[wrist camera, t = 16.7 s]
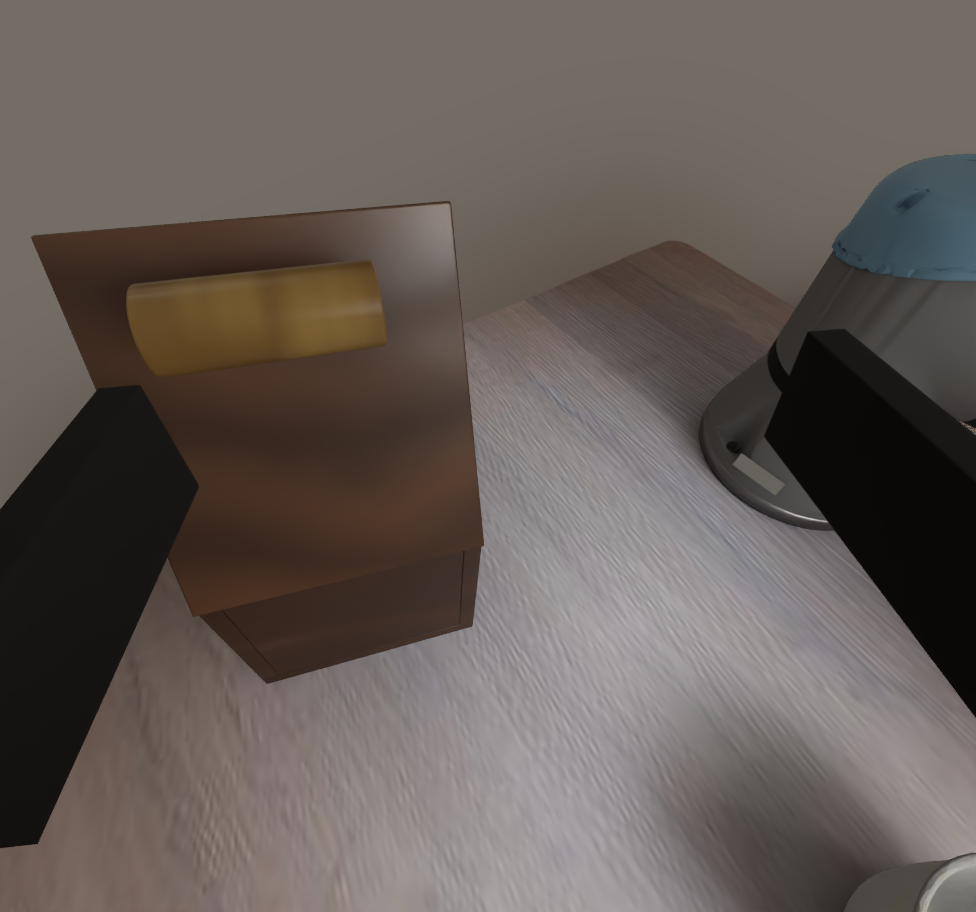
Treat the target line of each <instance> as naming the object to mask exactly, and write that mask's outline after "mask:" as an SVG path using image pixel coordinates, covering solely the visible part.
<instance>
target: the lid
mask: <svg viewBox="0 0 976 912" xmlns="http://www.w3.org/2000/svg"><path fill="white" fill-rule="evenodd" d="M31 238H32V241H33V243H34V246H35V248H36V250H37V252H38V255H39V257H40V260H41V262H42V264H43V267H44V269H45V271H46V274H47V276H48V278H49V281H50V283H51V285H52V287H53V290H54V292H55V295H56V297H57V299H58V302H59V304H60V306H61V309H62V311H63V314H64V316H65V318H66V321H67V323H68V325H69V328H70V330H71V332H72V335H73V337H74V339H75V342H76V343H77V346H78V349H79V351H80V353H81V356H82V358H83V360H84V363H85V365H86V367H87V370H88V372H89V374H90V377H91V379H92V381H93V384H94V386H95V388H96V391H97V390H98V389H99V388H107V387H119V386H132V385H141V387H142V389H143V391H144V392H145V394H146V396H147V397H148V399H149V401H150V402H151V404H152V406H153V408H154V409H155V411H156V413H157V414H158V416H159V418H160V420H161V421H162V423H163V425H164V426H165V428H166V430H167V431H168V433H169V435H170V437H171V438H172V440H173V442H174V443H175V445H176V447H177V448H178V450H179V452H180V454H181V455H182V457H183V459H184V460H185V462H186V464H187V466H188V467H189V469H190V471H191V472H192V474H193V476H194V477H195V479H196V481H197V483H198V484H199V488H198V491H197V493H196V495H195V497H194V499H193V502H192V504H191V506H190V508H189V511H188V513H187V515H186V517H185V519H184V522H183V524H182V526H181V528H180V530H179V533H178V535H177V537H176V539H175V541H174V544H173V546H172V548H171V550H170V552H169V555H168V559H169V562H170V564H171V566H172V569H173V571H174V573H175V576H176V578H177V580H178V583H179V585H180V587H181V590H182V592H183V594H184V597H185V599H186V601H187V604H188V606H189V608H190V611H191V613H192V615H193V617H196V616H200V615H204V614H208V613H212V612H216V611H220V610H224V609H228V608H233V607H237V606H241V605H245V604H249V603H253V602H257V601H261V600H265V599H269V598H273V597H278V596H282V595H286V594H290V593H294V592H298V591H302V590H306V589H310V588H314V587H318V586H323V585H327V584H331V583H335V582H339V581H343V580H347V579H351V578H355V577H359V576H363V575H368V574H372V573H376V572H380V571H384V570H388V569H392V568H396V567H400V566H404V565H408V564H413V563H417V562H421V561H425V560H429V559H433V558H437V557H441V556H445V555H449V554H453V553H458V552H462V551H466V550H470V549H474V548H478V547H482V546H484V539H483V529H482V518H481V508H480V498H479V487H478V477H477V467H476V457H475V446H474V436H473V426H472V415H471V405H470V395H469V384H468V374H467V364H466V354H465V343H464V333H463V323H462V313H461V303H460V292H459V282H458V271H457V261H456V251H455V240H454V231H453V220H452V209H451V203H450V202H449V201H443V202H432V203H419V204H407V205H395V206H383V207H371V208H358V209H346V210H335V211H322V212H310V213H298V214H286V215H275V216H262V217H250V218H238V219H226V220H214V221H201V222H189V223H179V224H165V225H153V226H141V227H129V228H117V229H105V230H93V231H81V232H69V233H57V234H46V235H34V236H32V237H31Z"/></svg>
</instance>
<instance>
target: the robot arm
mask: <svg viewBox="0 0 976 912" xmlns="http://www.w3.org/2000/svg"><path fill="white" fill-rule="evenodd" d="M832 247H833V252H832V254H831V255H830V257H829V258H828V260H827V261H826V263H825V264H824V266H823V267H822V269H821V270H820V272H819V274H818V275H817V277H816V278H815V280H814V282H813V283H812V285H811V286H810V288H809V289H808V291H807V292H806V294H805V295H804V297H803V298H802V300H801V302H800V303H799V305H798V306H797V308H796V309H795V311H794V312H793V314H792V315H791V317H790V318H789V320H788V322H787V323H786V325H785V326H784V328H783V329H782V331H781V332H780V334H779V336H778V337H777V339H776V340H775V342H774V344H773V345H772V347H771V348H770V350H769V351H768V353H767V354H766V355H764V356H763V357H762V358H761V359H759V360H758V361H757V362H755V363H754V364H753V365H752V366H750V367H749V368H748V369H747V370H745V371H744V372H743V373H742V374H740V375H739V376H738V377H736V378H735V379H734V380H733V381H731V382H730V383H729V384H728V385H726V386H725V387H724V388H723V389H722V390H721V391H720V392H719V393H718V394H717V395H716V396H715V398H714V399H713V400H712V401H711V403H710V404H709V406H708V408H707V410H706V411H705V413H704V415H703V417H702V420H701V423H700V431H699V435H700V443H701V447H702V450H703V453H704V455H705V457H706V460H707V462H708V463H709V465H710V467H711V468H712V470H713V471H714V473H715V474H716V475H717V476H718V478H719V479H720V480H721V481H722V482H723V483H724V484H725V485H726V486H727V487H728V488H729V489H730V490H731V491H732V492H733V493H734V494H735V495H736V496H738V497H739V498H740V499H742V500H743V501H744V502H746V503H747V504H749V505H750V506H752V507H753V508H755V509H757V510H758V511H760V512H762V513H764V514H766V515H768V516H770V517H772V518H774V519H777V520H779V521H782V522H785V523H788V524H791V525H794V526H798V527H802V528H808V529H815V530H835V532H836V533H837V534H838V536H839V537H840V538H841V540H842V541H843V542H844V544H845V545H846V546H847V548H848V549H849V550H850V552H851V553H852V554H853V555H854V557H855V558H856V559H857V561H858V562H859V563H860V565H861V566H862V567H863V569H864V570H865V571H866V573H867V574H868V575H869V577H870V578H871V579H872V581H873V582H874V583H875V585H876V586H877V587H878V589H879V590H880V591H881V593H882V594H883V595H884V597H885V598H886V599H887V601H888V602H889V603H890V605H891V606H892V607H893V609H894V610H895V611H896V613H897V614H898V615H899V616H900V618H901V619H902V620H903V622H904V623H905V624H906V626H907V627H908V628H909V630H910V631H911V632H912V634H913V635H914V636H915V638H916V639H917V640H918V642H919V643H920V644H921V646H922V647H923V648H924V650H925V651H926V652H927V654H928V655H929V656H930V658H931V659H932V660H933V662H934V663H935V664H936V666H937V667H938V668H939V670H940V671H941V672H942V674H943V675H944V676H945V678H946V679H947V680H948V681H949V683H950V684H951V685H952V687H953V688H954V689H955V691H956V692H957V693H958V695H959V696H960V697H961V699H962V700H963V701H964V703H965V704H966V705H967V707H968V708H969V709H970V711H971V712H972V713H973V715H974V716H975V717H976V435H974V434H973V433H972V432H971V431H970V430H968V429H967V428H966V427H965V426H963V425H962V424H961V423H960V422H959V421H961V422H963V423H965V424H968V425H970V426H972V427H974V428H976V154H956V155H945V156H937V157H932V158H927V159H923V160H919V161H916V162H913V163H910V164H908V165H905V166H903V167H901V168H899V169H897V170H896V171H894V172H893V173H891V174H889V175H888V176H887V177H885V178H884V179H883V180H882V181H881V182H880V183H879V184H878V185H877V186H876V187H875V188H874V189H873V191H872V192H871V194H870V195H869V196H868V198H867V199H866V201H865V202H864V204H863V205H862V207H861V208H860V209H859V211H858V212H857V214H856V215H855V216H854V218H853V219H852V221H851V222H850V224H849V225H848V226H847V227H846V228H845V229H843V230H842V231H841V232H840V233H839V234H838V236H837V237H836V239H835V241H834V243H833V245H832ZM957 420H958V421H957ZM198 488H199V484H198V483H197V481H196V479H195V477H194V476H193V474H192V472H191V471H190V469H189V467H188V466H187V464H186V462H185V460H184V459H183V457H182V455H181V454H180V452H179V450H178V448H177V447H176V445H175V443H174V442H173V440H172V438H171V437H170V435H169V433H168V431H167V430H166V428H165V426H164V425H163V423H162V421H161V420H160V418H159V416H158V414H157V413H156V411H155V409H154V408H153V406H152V404H151V402H150V401H149V399H148V397H147V396H146V394H145V392H144V391H143V389H142V387H141V385H132V386H119V387H107V388H99V389H98V390H97V391H96V392H95V394H94V395H93V396H92V397H91V399H90V400H89V401H88V402H87V403H86V405H85V406H84V407H83V408H82V410H81V411H80V412H79V413H78V415H77V416H76V417H75V418H74V419H73V421H72V422H71V423H70V424H69V426H68V427H67V428H66V429H65V430H64V432H63V433H62V434H61V435H60V437H59V438H58V439H57V440H56V441H55V443H54V444H53V445H52V446H51V448H50V449H49V450H48V451H47V453H46V454H45V455H44V456H43V457H42V459H41V460H40V461H39V463H38V464H37V465H36V466H35V467H34V468H33V470H32V471H31V472H30V474H29V475H28V476H27V477H26V478H25V480H24V481H23V482H22V483H21V485H20V486H19V487H18V488H17V489H16V491H15V492H14V493H13V494H12V495H11V497H10V498H9V499H8V500H7V502H6V503H5V504H4V506H3V507H2V508H1V509H0V848H6V847H14V846H23V845H32V844H38V842H39V840H40V837H41V835H42V833H43V831H44V829H45V826H46V824H47V822H48V820H49V818H50V815H51V813H52V811H53V809H54V807H55V804H56V802H57V800H58V798H59V795H60V793H61V791H62V789H63V787H64V784H65V782H66V780H67V778H68V776H69V773H70V771H71V769H72V767H73V765H74V762H75V760H76V758H77V756H78V754H79V751H80V749H81V747H82V745H83V742H84V740H85V738H86V736H87V734H88V731H89V729H90V727H91V725H92V723H93V720H94V718H95V716H96V714H97V712H98V709H99V707H100V705H101V703H102V700H103V698H104V696H105V694H106V692H107V689H108V687H109V685H110V683H111V681H112V678H113V676H114V674H115V672H116V670H117V667H118V665H119V663H120V661H121V659H122V656H123V654H124V652H125V650H126V647H127V645H128V643H129V641H130V639H131V636H132V634H133V632H134V630H135V628H136V625H137V623H138V621H139V619H140V617H141V614H142V612H143V610H144V608H145V606H146V603H147V601H148V599H149V597H150V594H151V592H152V590H153V588H154V586H155V583H156V581H157V579H158V577H159V575H160V572H161V570H162V568H163V566H164V564H165V561H166V559H167V557H168V555H169V552H170V550H171V548H172V546H173V544H174V541H175V539H176V537H177V535H178V533H179V530H180V528H181V526H182V524H183V522H184V519H185V517H186V515H187V513H188V511H189V508H190V506H191V504H192V502H193V499H194V497H195V495H196V493H197V491H198Z"/></svg>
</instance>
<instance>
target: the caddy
mask: <svg viewBox="0 0 976 912" xmlns="http://www.w3.org/2000/svg"><path fill="white" fill-rule="evenodd" d="M480 554H481V547H478V548H474V549H470V550H466V551H462V552H458V553H453V554H449V555H445V556H441V557H437V558H433V559H429V560H425V561H421V562H417V563H413V564H408V565H404V566H400V567H396V568H392V569H388V570H384V571H380V572H376V573H372V574H368V575H363V576H359V577H355V578H351V579H347V580H343V581H339V582H335V583H331V584H327V585H323V586H318V587H314V588H310V589H306V590H302V591H298V592H294V593H290V594H286V595H282V596H278V597H273V598H269V599H265V600H261V601H257V602H253V603H249V604H245V605H241V606H237V607H233V608H228V609H224V610H220V611H216V612H212V613H208V614H204V615H200V617H201V618H202V619H203V620H204V621H205V622H206V623H207V624H208V625H209V626H210V627H211V628H212V629H213V630H214V631H215V632H216V633H217V634H218V635H219V636H220V637H221V638H222V639H223V640H224V641H225V642H226V643H227V644H228V645H229V646H230V647H231V648H232V649H233V650H234V651H235V652H236V653H237V654H238V655H239V656H240V657H241V658H242V659H243V660H244V661H245V662H246V663H247V664H248V665H249V666H250V667H251V668H252V669H253V670H254V671H255V672H256V673H257V674H258V675H259V676H260V677H261V678H262V679H263V680H264V681H265V682H266V683H267V684H268V683H272V682H275V681H279V680H282V679H286V678H290V677H293V676H297V675H300V674H304V673H307V672H311V671H315V670H318V669H322V668H325V667H329V666H332V665H336V664H340V663H343V662H347V661H350V660H354V659H357V658H361V657H365V656H368V655H372V654H375V653H379V652H382V651H386V650H390V649H393V648H397V647H400V646H404V645H407V644H411V643H415V642H418V641H422V640H425V639H429V638H432V637H436V636H439V635H443V634H447V633H450V632H454V631H457V630H461V629H464V628H468V627H472V625H473V616H474V607H475V599H476V590H477V581H478V572H479V563H480Z"/></svg>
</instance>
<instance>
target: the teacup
mask: <svg viewBox="0 0 976 912" xmlns="http://www.w3.org/2000/svg"><path fill="white" fill-rule="evenodd" d="M843 912H976V853H969V854H965V855H961V856H957V857H955V858H952V859H950V860H944V861H933V862H925V863H917V864H910V865H905V866H900V867H895V868H891V869H888V870H886V871H883V872H880V873H878V874H876V875H874V876H873V877H871V878H869V879H868V880H867V881H865V882H864V883H863V884H862V885H861V886H859V887H858V888H857V890H856V891H855V892H854V893H853V895H852V896H851V898H850V899H849V901H848V903H847V904H846V907H845V909H844V911H843Z"/></svg>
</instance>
